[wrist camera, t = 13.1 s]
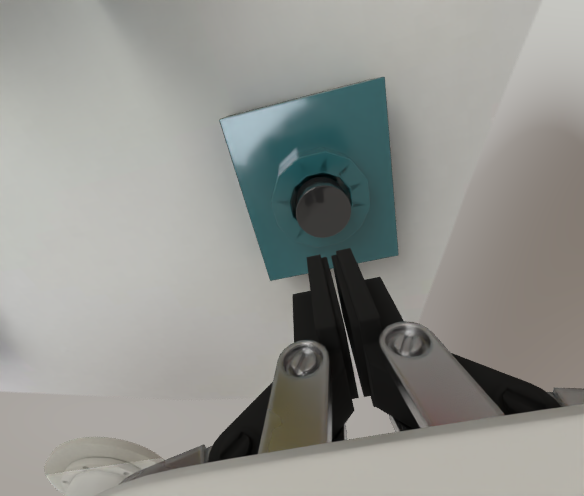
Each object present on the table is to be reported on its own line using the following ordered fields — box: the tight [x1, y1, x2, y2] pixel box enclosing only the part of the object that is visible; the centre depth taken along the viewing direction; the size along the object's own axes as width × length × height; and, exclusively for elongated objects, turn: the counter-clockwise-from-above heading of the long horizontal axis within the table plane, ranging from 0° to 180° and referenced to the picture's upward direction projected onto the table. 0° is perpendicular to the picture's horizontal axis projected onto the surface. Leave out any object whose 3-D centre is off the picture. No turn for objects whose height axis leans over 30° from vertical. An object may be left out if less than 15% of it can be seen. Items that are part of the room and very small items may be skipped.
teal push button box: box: [219, 77, 398, 281], centre depth 21 cm, size 12×10×5 cm
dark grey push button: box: [295, 177, 351, 238], centre depth 18 cm, size 3×3×2 cm
